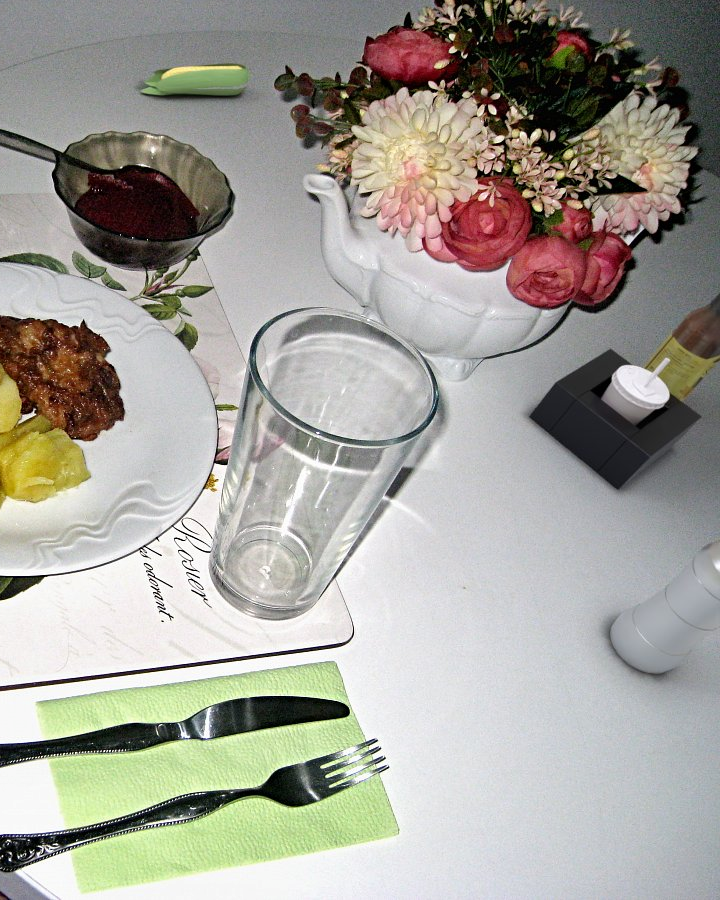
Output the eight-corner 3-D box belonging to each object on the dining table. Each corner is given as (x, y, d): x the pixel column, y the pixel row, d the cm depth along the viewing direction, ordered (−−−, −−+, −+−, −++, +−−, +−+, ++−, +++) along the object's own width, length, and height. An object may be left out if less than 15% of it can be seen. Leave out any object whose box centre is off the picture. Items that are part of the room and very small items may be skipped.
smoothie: (569, 445, 109) (640, 363, 98) (569, 412, 113) (638, 329, 103) (621, 465, 108) (698, 384, 98) (619, 430, 112) (692, 350, 102)
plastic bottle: (598, 614, 92) (733, 496, 77) (662, 636, 92) (810, 523, 77) (603, 667, 88) (747, 553, 73) (670, 691, 88) (828, 582, 73)
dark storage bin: (664, 454, 111) (702, 416, 106) (613, 495, 105) (650, 456, 99) (578, 387, 117) (610, 348, 112) (524, 421, 110) (555, 382, 105)
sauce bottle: (670, 427, 115) (784, 309, 100) (623, 410, 115) (730, 290, 101) (666, 395, 119) (774, 277, 105) (620, 378, 120) (722, 259, 105)
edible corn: (251, 99, 152) (259, 73, 148) (145, 102, 144) (151, 75, 141) (237, 83, 155) (245, 58, 151) (133, 86, 147) (139, 59, 144)
